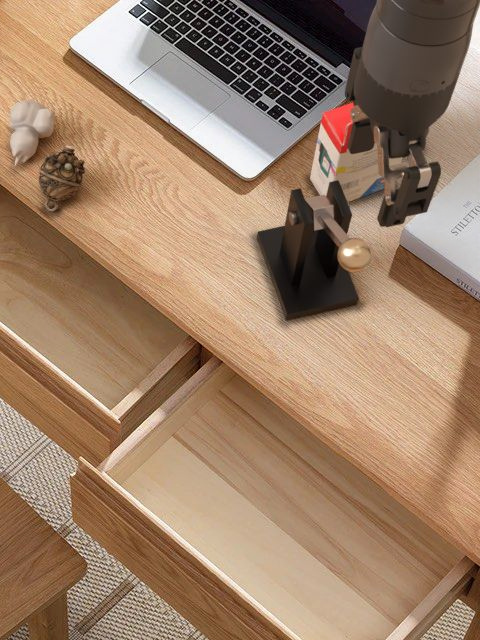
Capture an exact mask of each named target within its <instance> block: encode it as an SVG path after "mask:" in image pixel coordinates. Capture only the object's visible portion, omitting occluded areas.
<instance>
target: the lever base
mask: <svg viewBox="0 0 480 640" xmlns="http://www.w3.org/2000/svg"><path fill="white" fill-rule="evenodd" d="M326 197H327V198H328V199H329V200H330V202H331V203H332V204H333V205H334V220H335V221H336V222H337V223H338V224H339V226H340V227H341V228H342V229H343V230H344V231H345V233H346V234H347V235H348V232H349V229H350V224H351V222H352V217H353V212H352V210H351V206H350V203H349V202H348V201H347V200H346V197H345V195H344V192H343V190H342V188H341V185H340V183H339V180H337V181H332V182H329V186H328V191H327V195H326ZM305 199H306V198H305V196H304V193H303V191H302V189H301V188H295V189H291V190H290V195H289V201H288V205H287V211H286V217H285V222H284V225H281V226H277V227H273V228H268V229H262V230H258V231H257V233H256V240H257V243H258V246H259V249H260V251H261V255H262V258H263V260H264V264H265V265H266V269H267V272H268V274H269V277H270V280H271V282H272V286H273V288H274V291H275V294H276V297H277V300H278V302H279V305H280V309H281V311H282V313H283V317H284V319H285V321H290V320H296V319H300V318H305V317H309V316H314V315H318V314H322V313H327V312H331V311H336V310H340V309H345V308H350V307H354V306H358V303H359V301H360V298H359V296H358V292H357V290H356V288H355V285H354V282H353V280H352V277H351V275H350V271H347V270H345V269H344V268H343V267H342V266H341V265H340V264H339V262H338V257H337V253H338V249H339V247H338V246H337V245H336V244H335V242H334V241H333V240H332V239H331V237H330V236H329V235H328V234H327V233H326V231H325V230H324V229H320V230H316V231H314V230H313V225H314V222H313V219H312V217H311V214H310V212H309V209H308V206H307V204H306V201H305Z"/></svg>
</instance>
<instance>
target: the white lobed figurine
mask: <svg viewBox="0 0 480 640" xmlns="http://www.w3.org/2000/svg"><path fill="white" fill-rule="evenodd" d="M9 118H10V119H9V125H10V127H11V128H12V130H13V133H12V134H11V136H10V140H9V146H10V149H11V154H12V156H13V157H14V158H15V161H14V167H16V166H17V165H18V164H19V162H20V161H22V163H26V162H27V161H28V160H29V159H31V157H33V156H34V155H35V154H36V152H37V148H38V145H39V139H44V138H49V137H50V136H51V135H52V134H53V133H54V128H55V119H54V118H55V112H54V111H52V110H51V109H48V107H46V106H45V105H44V104H42V103H41V102H39V101H37V100H34V99H23V100H20V101H18V102H16V103H14V105H13V106H12V108H11V110H10V113H9Z"/></svg>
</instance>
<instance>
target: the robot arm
mask: <svg viewBox="0 0 480 640" xmlns="http://www.w3.org/2000/svg"><path fill="white" fill-rule="evenodd" d="M479 9H480V0H376V2H375V5H374V8H373V10H372V12H371V15H370V17H369V20H368V23H367V27H366V31H365V34H364V39H363V44H362V46H361V47H360V46H359V47H356V48H354V50H353V55H352V59H351V62H350V67H349V71H348V75H347V80H346V85H345V88H344V97H345V100H346V101H347V102H352V103H353V104H354V108H351V111H350V117H351V119H352V121H353V125H352V129H351V133H350V137H349V141H348V145H347V147H348V149H349V152H350V154H357V153H361V152H366V151H370V150H371V149H373V147H374V144H375V143H376V144H377V154H378V173H379V175H380V176H381V177H383V178H384V185H385V189H384V195H383V198H382V201H381V204H380V208H379V211H378V214H377V217H376V220H377V222H378V224H379V227H381V228H384V227H385V228H391V227H396V226H400V225H403V224H405V221H406V218H408V217H410V216H416V215H421V214H426V213H427V212H428V210H429V209H430V208H429V207H430V205H431V202H432V200H433V197H434V195H435V191H436V190H437V189H436V188H437V187H438V184H439V180H440V178H441V175H442V168H441V167H442V166H441V165H440V162H439V161H437V160H436V161H432V162H428V160H427V158H426V156H425V153H424V151H425V148H426V145H427V137H426V132H427V129H428V128H429V129H430V128H431V126H432V125H434V124H435V123H436V122H437V121H438V120H439V119H440V118H441V117H442V116H443V115H444V113H446V111H447V110H448V107H449V106H450V103H451V100H452V98H453V94H454V92H455V90H456V89H455V88H456V86H457V83H458V80H459V77H460V74H461V71H462V69H463V65H464V63H465V60H466V57H467V54H468V51H469V49H470V45H471V40H472V36H473V29H474V25H475V24H474V23H475V20H476V18H477V15H478V13H479V12H478V11H479ZM402 157H403V158H407V160H408V161H406V162H401V164H396V165H391V166H389V158H390V159H394V158H402ZM403 158H402V159H403ZM398 179H401V182H400V186H399V188H396V181H397V180H398Z"/></svg>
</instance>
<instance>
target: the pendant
mask: <svg viewBox="0 0 480 640" xmlns="http://www.w3.org/2000/svg"><path fill="white" fill-rule="evenodd" d="M75 154H76V152H75V148H74V147H73V146H71V145H65V146H64V148H63V149H62V151H58V149H55V150H51V151H50V154H49V156H48V155H45V156H44V157H43V158H44V161H43V162H42V164H41V165H40V168H39V169H38V171H39V172H38V173H39V174H38V175H39V176H38V184H39V188H40V189H41V191H42V193H43V194H44V195H45V196H46V198H47V199H46V201H44V207H45V209H46V210H47V211H48V212H51V213H53V212H56V211H57V210H58V207H59V203H58V202H61V201H64V200H68V199H70V198H73V197H74V196H75V195H76V194H77V192H78V189H79V187H81V185H82V183H83V178H84V177H83V175H84V174H85V173H86V168H85V163H86V161H85V160H84V159H79V157H78V156H76V155H75ZM50 202H52V203H53V204H54V207H53V208H50V206H49V204H50Z"/></svg>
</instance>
